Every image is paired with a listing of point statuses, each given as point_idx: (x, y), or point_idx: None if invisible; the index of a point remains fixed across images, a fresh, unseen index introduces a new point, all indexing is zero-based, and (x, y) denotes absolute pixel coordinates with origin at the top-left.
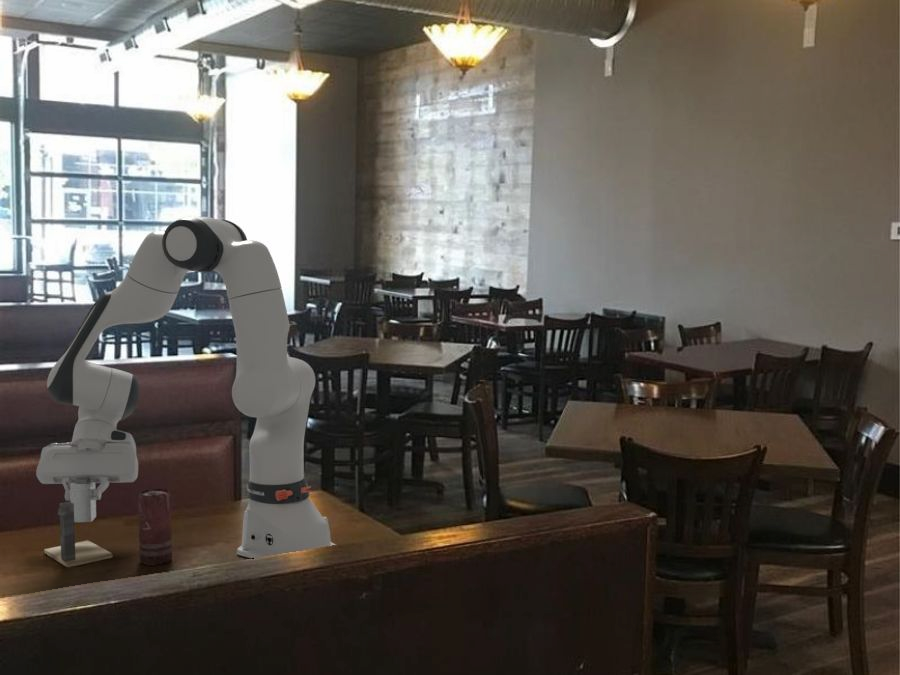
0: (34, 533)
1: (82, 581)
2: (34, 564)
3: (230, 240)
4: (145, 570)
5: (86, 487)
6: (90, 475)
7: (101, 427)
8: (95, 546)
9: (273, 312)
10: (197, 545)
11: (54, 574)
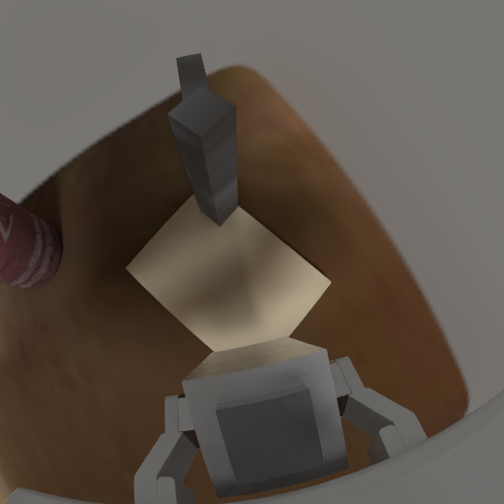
0: (427, 423)
1: (142, 121)
2: (301, 198)
3: None
4: (46, 197)
5: (210, 371)
6: (243, 501)
7: None
8: (197, 326)
9: None
10: (4, 367)
11: None
